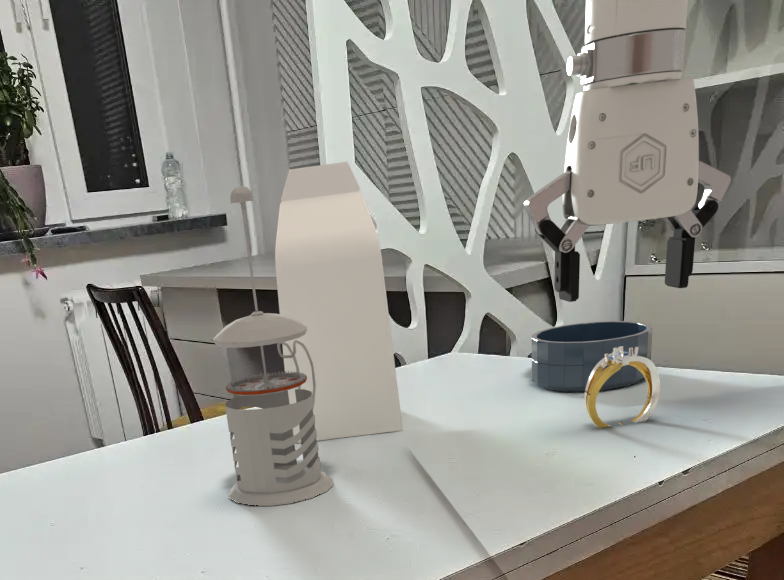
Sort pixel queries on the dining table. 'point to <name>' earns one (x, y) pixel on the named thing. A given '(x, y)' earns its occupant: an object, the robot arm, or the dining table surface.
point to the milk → (336, 302)
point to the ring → (619, 360)
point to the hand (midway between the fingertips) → (622, 293)
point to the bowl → (586, 353)
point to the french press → (271, 411)
